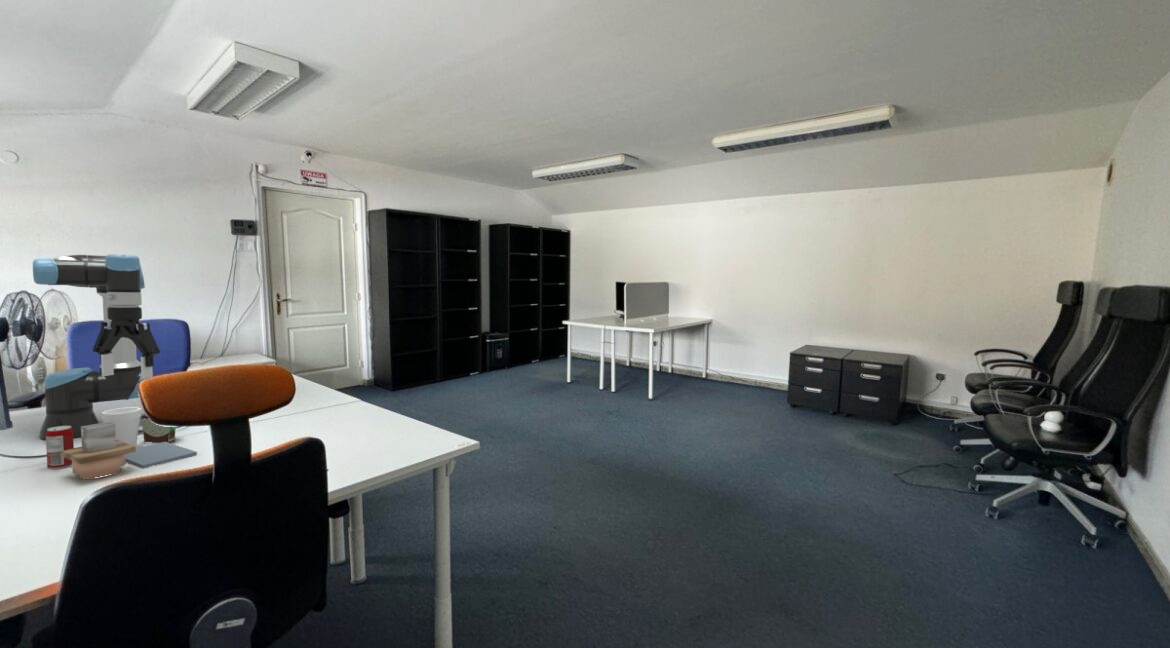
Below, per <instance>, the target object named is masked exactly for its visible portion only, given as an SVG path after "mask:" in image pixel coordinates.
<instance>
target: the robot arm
mask: <svg viewBox="0 0 1170 648" xmlns="http://www.w3.org/2000/svg"><path fill="white" fill-rule="evenodd" d="M32 276H33V277H32V278H33V282H34V283H35V284H36V285H42V286H43V285H45V286H70V287H76V288H90V289H91V288H95V289H96V294H97V295H99V296H101V298H102V310H103V311H102V313H103V315H102V316H103V321H102V322H100V330H99V333H98V336H97V338H96V340H95V342H94V346H93V348H92V352H94V353H95V352H96V353H97V354H98V355H99V361H100V362H99V364H100V365H99V370H97V371H96V370H95V371H93V370H92V368H91V367H77V368H71V369H70V368H69V369H64V370H63V369H62V370H60V371H55V372H52V373H50V374H48V375H47V376H45V377H44V387H43V389H44V390H45V391H44V393H45V395H44V397H45V418H44V420H43V423H42V425H41V428H40V430H39V439H41V440H45V441H46V432H47V429H49V428H52V427H58V426H71V428H72V430H73V439H75V438H79V437H80V438H81V427H82V426H87V425H93V424H99V423H101V422H100V421H99V419H98V417H97V415H96V413H95V411H94V404H96V403H104V402H114V401H115V402H116V401H123V400H124V401H125V400H126V401H129V400H133V399H139V396H138V392H137V385H138V382H139V381H141V380H143V379H146V378H147V379H149V378H153V377H154V372H153V367H154V356H155V355H159V354H161V350H160V348H159V346H158V344H157V342H156V340H155V339H156V338H154V335H153V333H152V331H151V326H150V323H149V322H144V323H143V322H142V323H140V320H142V318H143V310H142V308H141V306H142V303H143V301H142V290H143V289H145V288H146V285H145V279H144V274H143V270H142V265H141V261H140V257H139V256H138V255H133V254H118V253H117V254H116V253H114V254H113V253H112V254H111V253H110V254H106V255H94V254H93V255H90V254H72V255H63V256H56V257H54V258H36V259H33V260H32ZM137 349H138V351H139V352H140V353H141V354H142V355H141V356H140V361H139V360H138V359H137Z"/></svg>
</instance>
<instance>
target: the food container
mask: <svg viewBox="0 0 1170 648" xmlns="http://www.w3.org/2000/svg"><path fill="white" fill-rule="evenodd" d="M145 413H146V412H143V413H141V416H140V421H141V427H142V429H141V430H142V436H143V443H145V442H152V443H151V444H157V443H161V442H168V443H171V444H174V442H175V441H176V430H177V429H176V428H173V427H163V426H159V425H156V424H154V423H152V422H151V421H150V420H149V419H148V417H147V416H146V415H145Z"/></svg>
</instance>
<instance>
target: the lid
mask: <svg viewBox="0 0 1170 648" xmlns="http://www.w3.org/2000/svg"><path fill="white" fill-rule="evenodd" d="M80 438H81V446H79V447H75V448H74V449H69V450H64V451H61V454H62V457H65V458H67V459H69V460H72V461H74V462H76V463H79V464H83V463H88V462H92V461H96V460H101V459H105V458H110V457H114V456H118V455H123V454H127V453H132V452H136V448H137V446H136V447H135V446H132V445H129V444H127V443H124V442H121V441H118V440H116V437H115V424H114V423H111V422H100V423H99V424H93V425H87V426H82V427H81V437H80Z"/></svg>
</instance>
